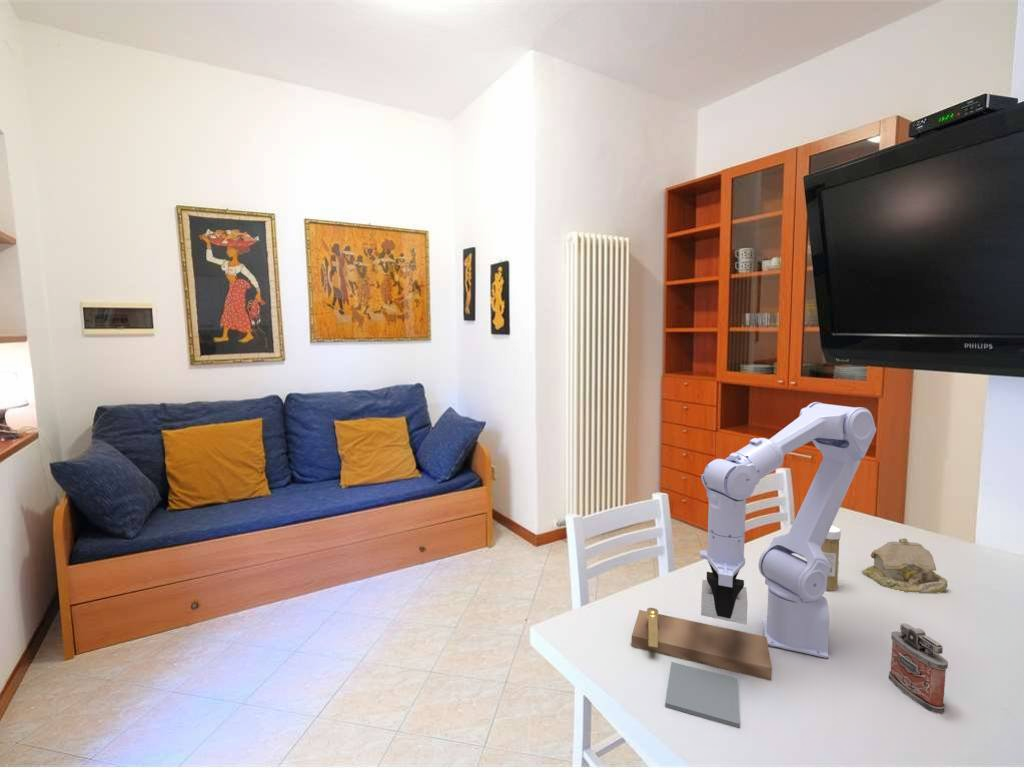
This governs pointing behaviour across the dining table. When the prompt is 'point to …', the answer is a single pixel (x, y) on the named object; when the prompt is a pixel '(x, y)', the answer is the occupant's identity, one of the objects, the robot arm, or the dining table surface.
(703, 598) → the light grey block
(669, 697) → the mat
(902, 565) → the ceramic model
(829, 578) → the sprinkles bottle
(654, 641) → the lever
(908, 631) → the lighter
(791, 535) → the robot arm
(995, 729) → the dining table surface
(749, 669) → the brown wooden board
